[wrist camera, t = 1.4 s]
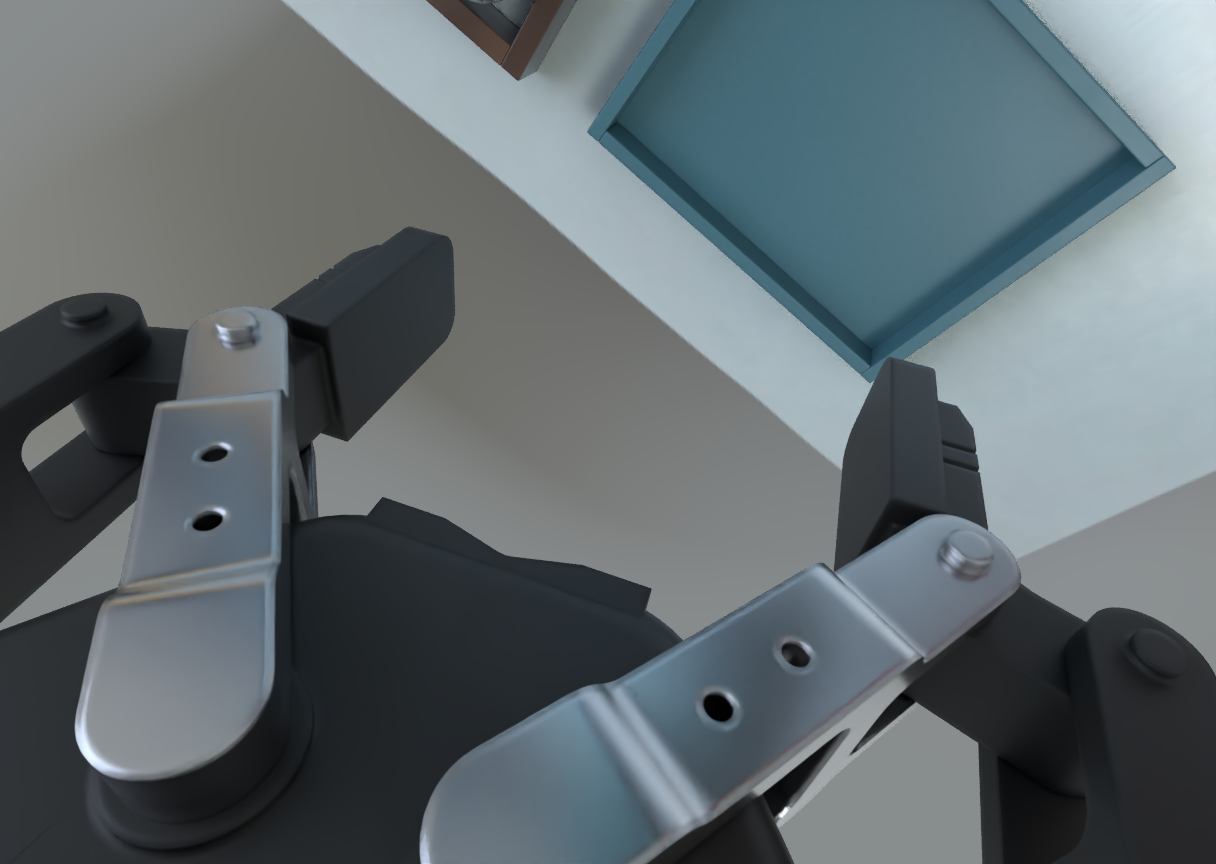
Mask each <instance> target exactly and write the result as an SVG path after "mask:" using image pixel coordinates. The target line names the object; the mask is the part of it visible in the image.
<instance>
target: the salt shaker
mask: <svg viewBox="0 0 1216 864" xmlns="http://www.w3.org/2000/svg"><path fill="white" fill-rule="evenodd" d="M469 1H473V2H477V3H480V4H487V3H497V2H499V1H502V0H469Z"/></svg>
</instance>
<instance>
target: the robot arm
mask: <svg viewBox="0 0 1216 864" xmlns="http://www.w3.org/2000/svg"><path fill="white" fill-rule="evenodd" d="M453 264H454V261H453V246H452V243H451V240H450V239H449V238H448V237H447V236H444V235H440V234H436V233H433V232H429V231H425V230H422V229H418V228H414V227H406V228H404V229H403V230H402V231H400V232H399V233H397V234H396V235H394V236H393V237H392V238H390V239H389V240H387V241H386V242H385V243H383V244H382V245H376V246H373V247H370V248H367V249H364V250H361V251H358V252H354V253H352V254H350V255H349V256H347V257H346V258H344V259H343V260H342V261H340V262H339V263H337V264H336V265H334V269H329V270H327V271H326V272H324V273H323V274H321V275H320V276H319V279H314V280H313V281H311V282H310V283H308V284H307V285H305V286H304V287H303V288H301V289H300V290H298V291H297V292H295V293H294V294H292V295H291V296H289V297H288V298H287V299H285V300H284V301H282V302H281V303H279V304H278V305H276V306H275V307H274V308H272V309H271V310H270V309H266V308H262V307H254V306H238V307H230V308H225V309H221V310H217V311H214V312H212V313H209V314H207V315H205V316H203V317H201V318H200V319H198V320H197V321H196V322H194V324H192V326H191V327H190V328H189V330H184V329H171V328H159V327H148V326H147V323H146V321H145V318H144V315H143V313H142V310H141V307H140V305H139V304H138V302H136V301H135V300H134V299H132V298H130V297H127V296H124V295H120V294H114V293H90V294H83V295H77V296H73V297H69V298H66V299H62V300H60V301H57V302H54V303H53V304H50V305H49V306H46V307H45V308H43V309H41V310H39V311H38V312H36V313H34V314H32V315H30V316H28V317H26V318H25V319H23V320H21V321H19V322H17V323H16V324H14V325H12V326H11V327H8V328H7V329H5V330H3V331H1V332H0V623H1V622H2V621H3V620H4V619H5V618H6V617H7V616H8V615H9V614H11V613H12V612H13V611H14V610H15V609H16V608H17V607H18V606H19V605H21V604H22V603H23V602H24V601H25V600H26V599H27V598H28V597H29V596H31V595H32V594H33V593H34V592H35V591H36V590H37V589H38V588H39V587H41V585H43V584H44V583H45V582H46V581H47V580H48V579H49V578H51V577H52V576H53V575H54V574H55V573H56V572H57V571H58V570H59V569H61V567H63V566H64V565H65V564H66V563H67V562H68V561H69V560H71V559H72V558H73V557H74V556H75V555H76V554H77V553H78V552H79V551H81V550H82V549H83V548H84V547H85V546H86V545H87V544H88V543H89V542H91V540H93V539H94V538H95V537H96V536H97V535H98V534H99V533H101V531H103V530H104V529H105V528H106V527H107V526H108V525H109V524H111V523H112V522H113V521H114V520H115V519H116V518H117V517H118V516H119V515H121V514H122V513H123V512H124V511H125V510H126V509H127V508H128V507H129V506H131V505H132V504H133V503H134V502H135V501H136V504H135V510H134V515H133V519H132V524H131V529H130V534H129V539H128V544H127V549H126V554H125V559H124V564H123V570H122V574H121V579H120V583H119V586H118V588H115V589H112V590H109V591H107V592H104V593H101V594H99V595H96V596H93V597H91V598H88V599H85V600H82V601H79V602H77V603H74V604H71V605H69V606H66V607H63V608H60V609H58V610H55V611H52V612H50V613H47V614H44V615H41V616H39V617H36V618H33V619H31V620H28V621H25V622H22V623H20V624H17V625H14V626H12V627H9V628H6V629H3V630H1V631H0V864H794V862H793V860H792V858H791V855H790V853H789V851H788V849H787V847H786V844H785V842H784V840H783V838H782V836H781V834H780V831H779V829H778V828H780V827H781V826H782V825H783V824H784V823H786V822H787V821H788V820H789V819H790V818H791V817H792V816H794V815H795V814H796V813H797V812H798V811H799V810H800V809H802V808H803V807H804V806H805V805H806V804H807V803H808V802H809V801H810V800H811V799H812V798H813V797H814V796H815V795H816V794H817V793H818V792H819V791H820V790H821V789H822V788H823V787H824V786H825V785H826V784H827V783H828V782H829V781H830V780H831V779H832V778H833V777H834V776H835V775H836V774H837V773H838V772H839V771H841V770H842V769H843V768H844V767H845V766H846V765H847V764H849V763H850V762H851V761H852V760H853V759H855V758H856V757H857V756H858V755H859V754H861V753H862V752H863V751H864V750H865V749H866V748H868V747H869V746H870V745H871V744H872V743H874V742H875V741H876V740H877V739H878V738H880V737H881V736H882V735H883V734H884V733H886V732H887V731H888V730H889V729H890V728H892V727H893V726H894V725H895V724H896V723H897V722H898V721H900V720H901V719H902V718H903V717H905V716H906V715H907V714H908V713H909V712H911V711H912V710H913V709H914V708H915V707H917V706H918V705H919V704H920V705H921V706H923V707H925V708H926V709H928V710H929V711H931V712H932V713H934V714H935V715H937V716H938V717H940V718H941V719H943V720H944V721H946V722H948V723H949V724H950V725H952V726H953V727H955V728H956V729H958V730H960V731H961V732H962V733H964V734H966V735H967V736H969V737H970V738H972V739H973V740H975V741H976V742H978V745H979V746H978V747H979V777H980V805H981V832H982V833H981V835H982V864H1216V676H1215V674H1214V672H1213V670H1212V668H1211V667H1210V665H1209V664H1208V662H1207V661H1206V660H1205V659H1204V657H1203V656H1202V655H1201V653H1200V652H1199V651H1197V649H1196V648H1195V647H1194V646H1193V645H1192V644H1191V643H1189V642H1188V641H1187V640H1186V639H1185V638H1184V637H1183V636H1181V635H1180V634H1179V633H1177V632H1176V631H1175V630H1173V629H1172V628H1170V627H1168V626H1167V625H1165V624H1164V623H1162V622H1160V621H1158V620H1157V619H1155V618H1153V617H1150V616H1148V615H1146V614H1143V613H1140V612H1137V611H1134V610H1131V609H1125V608H1106V609H1102V610H1100V611H1098V612H1096V613H1095V614H1094V615H1093V616H1092V617H1091V618H1090V619H1089V620H1088V621H1087V622H1085V621H1083V620H1082V619H1080V618H1078V617H1076V616H1074V615H1072V614H1071V613H1069V612H1067V611H1065V610H1063V609H1062V608H1060V607H1058V606H1056V605H1054V604H1052V603H1051V602H1049V601H1047V600H1045V599H1044V598H1042V597H1040V596H1039V595H1037V594H1035V593H1034V592H1032V591H1030V590H1029V589H1028V588H1026V587H1025V586H1024V585H1022V584H1021V583H1020V582H1021V573H1020V568H1019V565H1018V562H1017V561H1016V559H1015V557H1014V555H1013V554H1012V553H1011V551H1010V550H1009V549H1008V547H1007V546H1006V545H1005V544H1004V543H1003V542H1002V541H1001V540H1000V539H998V538H997V537H996V536H995V535H994V534H992V533H991V532H989V531H988V525H987V519H986V512H985V505H984V498H983V492H982V485H981V478H980V473H979V472H978V469H979V465H978V458H977V455H976V454H975V452H976V445H975V438H974V431H973V428H972V426H971V425H970V424H969V422H968V421H967V419H966V418H965V416H964V415H963V414H962V412H961V411H960V409H959V408H958V407H957V406H955V405H951V404H948V403H944V402H940V401H938V397H937V386H936V374H935V370H934V369H933V368H929V367H926V366H922V365H918V364H915V363H911V362H907V361H903V360H900V359H896V358H892V357H888V358H887V359H886V360H885V361H884V363H883V365H882V366H881V368H880V370H879V373H878V375H877V377H876V379H875V381H874V383H873V385H872V387H871V390H870V392H869V394H868V396H867V398H866V400H865V402H864V405H863V407H862V409H861V411H860V413H859V415H858V417H857V419H856V422H855V424H854V426H853V428H852V431H851V433H850V436H849V439H848V442H847V445H846V449H845V453H844V458H843V468H842V481H841V493H840V504H839V517H838V529H837V540H836V552H835V564H834V572H833V571H832V570H830V569H829V568H828V567H827V566H826V565H825V564H824V563H817V564H814V565H811V566H809V567H807V568H805V569H804V570H802V571H800V572H799V573H797V574H795V575H794V576H792V577H790V578H788V579H787V580H785V581H783V582H782V583H780V584H778V585H777V586H775V587H773V588H772V589H770V590H768V591H766V592H765V593H763V594H761V595H760V596H758V597H756V598H755V599H753V600H751V601H750V602H748V603H746V604H745V605H743V606H741V607H739V608H738V609H736V610H734V611H733V612H731V613H729V614H728V615H726V616H724V617H723V618H721V619H719V620H717V621H716V622H714V623H713V624H711V625H709V626H707V627H706V628H704V629H702V630H701V631H699V632H697V633H696V634H694V635H692V636H690V637H689V638H687V639H685V640H684V641H683V640H682V639H681V638H680V637H679V636H678V635H677V634H676V633H675V632H674V631H673V630H672V629H671V628H669V627H668V626H667V625H666V624H665V623H663V622H662V621H661V620H660V619H658V618H657V617H655V616H654V615H652V614H651V613H649V612H648V611H646V608H647V604H648V601H649V597H650V593H651V588H648V587H645V586H642V585H639V584H636V583H633V582H631V581H627V580H624V579H622V578H619V577H616V576H613V575H610V574H607V573H604V572H601V571H598V570H595V569H592V568H589V567H586V566H584V565H577V564H569V563H561V562H552V561H543V560H535V559H527V558H519V557H510V556H506V555H503V554H501V553H499V552H497V551H496V550H494V549H493V548H491V547H490V546H488V545H486V544H485V543H483V542H482V541H480V540H479V539H477V538H475V537H474V536H472V535H471V534H469V533H468V532H466V531H464V530H463V529H461V528H460V527H458V526H457V525H455V524H453V523H452V522H450V521H449V520H447V519H445V518H443V517H440V516H437V515H434V514H431V513H428V512H425V511H422V510H419V509H416V508H413V507H410V506H407V505H405V504H402V503H398V502H396V501H393V500H390V499H387V498H384V497H382V498H381V499H380V501H379V502H378V503H377V504H376V505H375V507H374V508H373V509H372V511H371V512H370V513H369V514H368V515H367V516H364V515H335V516H325V517H319V518H318V502H317V482H316V464H315V451H314V447H313V443H312V441H313V440H314V439H315V438H316V437H317V436H318V435H319V434H320V433H322V434H326V435H329V436H332V437H335V438H338V439H341V440H344V441H349V440H350V439H351V438H352V437H353V436H354V434H355V433H356V432H357V431H358V430H359V429H360V428H361V427H362V426H363V425H364V424H365V423H366V422H367V421H368V420H369V419H370V418H371V417H372V416H373V415H374V414H375V413H376V412H377V411H378V410H379V409H380V408H381V407H382V406H383V405H384V404H385V403H386V401H387V400H388V399H389V398H390V397H391V396H392V395H393V394H394V393H395V392H396V391H397V390H398V389H399V388H400V387H401V386H402V385H403V384H404V383H405V382H406V381H407V380H408V379H409V378H410V377H411V376H412V374H414V373H415V372H416V370H417V369H418V368H419V367H420V366H421V365H422V364H423V363H424V362H425V361H426V360H427V359H428V358H429V357H430V356H431V355H432V354H433V353H434V352H435V351H436V350H437V349H438V348H439V347H440V346H441V345H442V344H443V343H444V341H445V340H446V339H447V337H448V335H449V333H450V331H451V328H452V326H453V322H454V316H455V295H454V265H453ZM70 403H72V404H73V406H74V408H75V410H76V412H77V414H78V416H79V418H80V420H81V422H82V424H83V426H84V428H85V431H83V432H82V433H81V434H79V435H78V436H77V437H75V438H74V439H73V440H71V441H70V442H69V443H67V444H66V445H65V446H63V447H62V448H61V449H59V450H58V451H57V452H55V453H54V454H53V455H51V456H50V457H48V458H47V459H46V460H44V461H43V462H42V463H40V464H39V465H38V466H37V467H35V468H34V469H32V470H31V471H30V472H28V470H27V468H26V467H25V465H24V463H23V461H22V457H21V451H22V446H23V443H24V441H25V439H26V437H27V436H28V435H29V433H30V432H31V431H32V430H33V429H35V428H36V427H37V426H39V425H40V424H42V423H43V422H44V421H46V420H47V419H49V418H50V417H51V416H53V415H55V414H56V413H57V412H59V411H60V410H62V409H63V408H64V407H66V406H67V405H69V404H70Z"/></svg>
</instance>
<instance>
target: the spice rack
mask: <svg viewBox="0 0 1216 864" xmlns="http://www.w3.org/2000/svg"><path fill="white" fill-rule="evenodd" d="M426 1H428V2H429V3H430V4H431V5H432V6H433V7H434V8H436V9H437V10H438V11H439V12H440V13H441V14H442V15H443V16H445V17H446V18H447V19H448V20H449V21H450V22H451V23H452V24H454V25H455V26H456V27H457V28H458V29H459V30H460V31H462V32H463V33H464V34H465V35H466V36H467V37H468V38H469V39H471V40H472V41H473V42H474V43H475V44H476V45H477V46H479V47H480V48H481V49H482V50H483V51H484V52H485V53H486V54H488V55H489V56H490V57H491V58H492V59H493V60H494V61H495V62H497V63H498V64H499V65H501V66H502V67H503V68H504V69H505V70H506V71H507V72H508V73H509V74H511V75H512V76H513V77H514V78H515V79H516V80H518V81H519V80H521V79H523V78H525V77H527V76H529V75H530V74H532V73H534V72H536V71H537V69H538V67H539V65H540V64H541V62H542V60H543V58H544V57H545V55H546V53H547V51H548V50H549V48H550V46H551V44H552V43H553V41H554V39H555V37H556V36H557V34H558V32H559V30H560V29H561V27H562V25H563V23H564V22H565V20H566V18H567V16H568V15H569V13H570V11H571V9H572V8H573V6H574V4H575V2H576V1H577V0H535V2H534V4H533V5H532V7H531V9H530V11H529V13H528V15H527V17H526V19H525V21H524V22H523V24H522V26H521V28H520V29H518V28H517V27H516V26H515V25H514V24H513V23H512V22H511V21H510V20H508V19H507V18H506V17H505V16H504V15H503V14H502V13H501V12H500V11H498V10H497V9H496V8H495V7H494V6H493V5H492V4H491V3H487V4H480V3H477V2H473V1H469V0H426Z"/></svg>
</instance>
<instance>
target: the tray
mask: <svg viewBox="0 0 1216 864" xmlns="http://www.w3.org/2000/svg"><path fill="white" fill-rule="evenodd" d="M587 132H588V133H589V134H590V135H591V136H592V137H593V138H594V139H595V140H597V141H599V143H600V144H601V145H602V146H603V147H605V148H606V149H607V150H608V151H609V152H610V153H611V154H612V155H614V156H615V157H616V158H617V159H618V160H619V161H620V162H621V163H623V164H624V165H625V166H626V167H627V168H628V169H629V170H630V171H632V172H633V173H634V174H635V175H636V176H637V177H638V178H640V179H641V180H642V181H643V182H644V183H645V184H646V185H647V186H649V187H650V188H651V189H652V190H653V191H654V192H655V193H656V194H658V195H659V196H660V197H661V198H662V199H663V200H664V201H665V202H667V203H668V204H669V205H670V206H671V207H672V208H673V209H674V210H676V211H677V212H678V213H679V214H680V215H681V216H682V217H683V218H685V219H686V220H687V221H688V222H689V223H690V224H691V225H692V226H694V227H695V228H696V229H697V230H698V231H699V232H700V233H702V234H703V235H704V236H705V237H706V238H707V239H708V240H709V241H711V242H712V243H713V244H714V245H715V246H716V247H717V248H718V249H720V250H721V251H722V252H723V253H724V254H725V255H726V256H727V257H729V258H730V259H731V260H732V261H733V262H734V263H735V264H736V265H738V266H739V267H740V268H741V269H742V270H743V271H744V272H745V273H747V274H748V275H749V276H750V277H751V278H752V279H753V280H754V281H756V282H757V283H758V284H759V285H760V286H761V287H762V288H764V289H765V290H766V291H767V292H768V293H769V294H770V295H771V296H773V297H774V298H775V299H776V300H777V301H778V302H779V303H780V304H782V305H783V306H784V307H785V308H786V309H787V310H788V311H789V312H791V313H792V314H793V315H794V316H795V317H796V318H797V319H798V320H800V321H801V322H802V323H803V324H804V325H805V326H806V327H807V328H809V329H810V330H811V331H812V332H813V333H814V334H815V335H817V336H818V337H819V338H820V339H821V340H822V341H823V342H824V343H826V344H827V345H828V346H829V347H830V348H831V349H832V350H833V351H835V352H836V353H837V354H838V355H839V356H840V357H841V358H842V359H844V360H845V361H846V362H847V363H848V364H849V365H850V366H851V367H853V368H854V369H855V370H856V371H857V372H858V373H859V374H861V376H862V377H863V378H865V379H866V380H867V381H868V382H869V383H871V382H872V381H874V380H875V379H876V377H877V375H878V373H879V370H880V368H881V366H882V365H883V363H884V361H885V360H886V359H887V358H888V357H892V358H896V359H900V360H904V359H905V358H906V357H908V356H909V355H911V354H912V353H914V352H915V351H916V350H918V349H919V348H921V347H922V346H923V345H925V344H926V343H928V342H929V341H931V340H932V339H933V338H935V337H936V336H938V335H939V334H941V333H942V332H943V331H945V330H946V329H948V328H949V327H951V326H952V325H953V324H955V323H956V322H958V321H959V320H960V319H962V318H963V317H965V316H966V315H968V314H969V313H970V312H972V311H973V310H975V309H976V308H978V307H979V306H980V305H982V304H983V303H985V302H986V301H987V300H989V299H990V298H992V297H993V296H995V295H996V294H997V293H999V292H1000V291H1002V290H1003V289H1005V288H1006V287H1007V286H1009V285H1010V284H1012V283H1013V282H1014V281H1016V280H1017V279H1019V278H1020V277H1022V276H1023V275H1024V274H1026V273H1027V272H1029V271H1030V270H1032V269H1033V268H1034V267H1036V266H1037V265H1039V264H1040V263H1041V262H1043V261H1044V260H1046V259H1047V258H1049V257H1050V256H1051V255H1053V254H1054V253H1056V252H1057V251H1059V250H1060V249H1061V248H1063V247H1064V246H1066V245H1067V244H1068V243H1070V242H1071V241H1073V240H1074V239H1076V238H1077V237H1078V236H1080V235H1081V234H1083V233H1084V232H1086V231H1087V230H1088V229H1090V228H1091V227H1093V226H1094V225H1095V224H1097V223H1098V222H1100V221H1101V220H1103V219H1104V218H1105V217H1107V216H1108V215H1110V214H1111V213H1113V212H1114V211H1115V210H1117V209H1118V208H1120V207H1121V206H1123V205H1124V204H1125V203H1127V202H1128V201H1130V200H1131V199H1132V198H1134V197H1135V196H1137V195H1138V194H1140V193H1141V192H1142V191H1144V190H1145V189H1147V188H1148V187H1150V186H1151V185H1152V184H1154V183H1155V182H1157V181H1158V180H1159V179H1161V178H1162V177H1164V176H1165V175H1167V174H1168V173H1169V172H1171V171H1172V170H1174V169H1175V168H1176V166H1175V165H1174V164H1173V163H1172V162H1171V161H1170V160H1169V159H1168V158H1167V156H1166V155H1165V154H1164V153H1163V152H1162V151H1161V150H1160V149H1159V148H1158V147H1157V146H1156V145H1155V144H1154V142H1153V141H1152V140H1151V139H1150V138H1149V137H1148V136H1147V135H1146V134H1145V133H1144V132H1143V131H1142V129H1141V128H1140V127H1139V126H1138V125H1137V124H1136V123H1135V122H1134V121H1133V120H1132V119H1131V118H1130V116H1129V115H1128V114H1127V113H1126V112H1125V111H1124V110H1123V109H1122V108H1121V107H1120V106H1119V105H1118V103H1117V102H1116V101H1115V100H1114V99H1113V98H1112V97H1111V96H1110V95H1109V94H1108V93H1107V92H1106V90H1105V89H1104V88H1103V87H1102V86H1101V85H1100V84H1099V83H1098V82H1097V81H1096V80H1095V79H1094V78H1093V76H1092V75H1091V74H1090V73H1089V72H1088V71H1087V70H1086V69H1085V68H1084V67H1083V66H1082V65H1081V63H1080V62H1079V61H1078V60H1077V59H1076V58H1075V57H1074V56H1073V55H1072V54H1071V53H1070V52H1069V50H1068V49H1067V48H1066V47H1065V46H1064V45H1063V44H1062V43H1061V42H1060V41H1059V40H1058V39H1057V37H1056V36H1055V35H1054V34H1053V33H1052V32H1051V31H1050V30H1049V29H1048V28H1047V27H1046V26H1045V24H1044V23H1043V22H1042V21H1041V20H1040V19H1039V18H1038V17H1037V16H1036V15H1035V14H1034V13H1033V11H1032V10H1031V9H1030V8H1029V7H1028V6H1027V5H1026V4H1025V3H1024V2H1023V1H1022V0H675V1H674V3H673V4H672V5H671V7H670V8H669V10H668V11H667V13H666V14H665V16H664V17H663V19H662V20H661V22H660V23H659V25H658V26H657V28H656V29H655V31H654V32H653V34H652V35H651V37H650V38H649V40H648V41H647V43H646V44H645V46H644V47H643V49H642V50H641V52H640V53H639V55H638V56H637V58H636V59H635V61H634V62H633V64H632V65H631V67H630V68H629V70H628V71H627V73H626V74H625V76H624V77H623V79H622V80H621V82H620V83H619V85H618V86H617V88H616V89H615V90H614V92H613V93H612V95H611V96H610V98H609V99H608V101H607V102H606V104H605V105H604V107H603V108H602V110H601V111H600V113H599V114H598V116H597V117H596V119H595V120H594V122H593V123H592V125H591V126H590V128H589V129H588V131H587Z"/></svg>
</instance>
